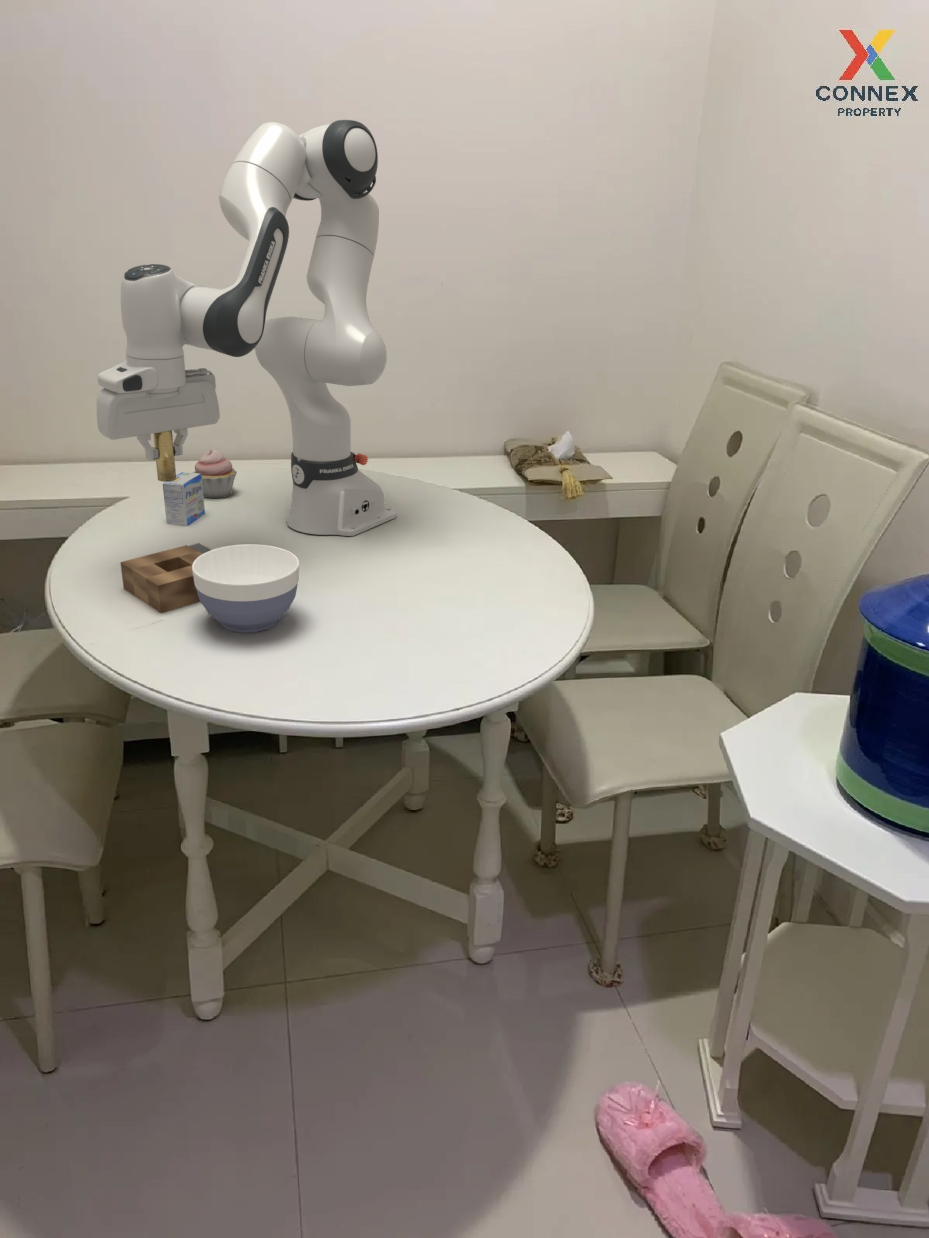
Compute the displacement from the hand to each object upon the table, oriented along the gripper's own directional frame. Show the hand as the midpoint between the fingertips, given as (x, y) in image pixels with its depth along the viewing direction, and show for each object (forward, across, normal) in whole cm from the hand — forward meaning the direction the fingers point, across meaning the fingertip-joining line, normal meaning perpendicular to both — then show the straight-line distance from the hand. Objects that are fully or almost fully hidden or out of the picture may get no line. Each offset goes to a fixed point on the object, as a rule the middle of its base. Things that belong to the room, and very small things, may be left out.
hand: (164, 457), depth 154 cm
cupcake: (+19, -26, -28) cm, 43 cm away
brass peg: (+4, 0, 0) cm, 4 cm away
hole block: (+19, +6, +11) cm, 23 cm away
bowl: (+20, +2, +27) cm, 33 cm away
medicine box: (+20, -13, -18) cm, 30 cm away
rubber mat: (+19, -3, -1) cm, 19 cm away
